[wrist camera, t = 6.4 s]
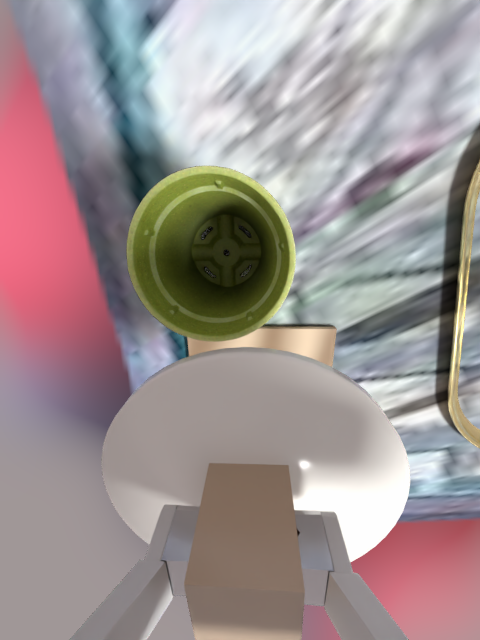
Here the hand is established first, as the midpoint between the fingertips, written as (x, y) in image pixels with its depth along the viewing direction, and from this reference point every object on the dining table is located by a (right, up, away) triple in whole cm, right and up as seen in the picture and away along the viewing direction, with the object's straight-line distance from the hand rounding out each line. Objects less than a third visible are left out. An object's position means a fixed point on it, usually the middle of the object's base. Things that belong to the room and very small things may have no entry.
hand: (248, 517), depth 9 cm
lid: (0, +1, +2) cm, 2 cm away
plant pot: (-1, +13, +13) cm, 19 cm away
